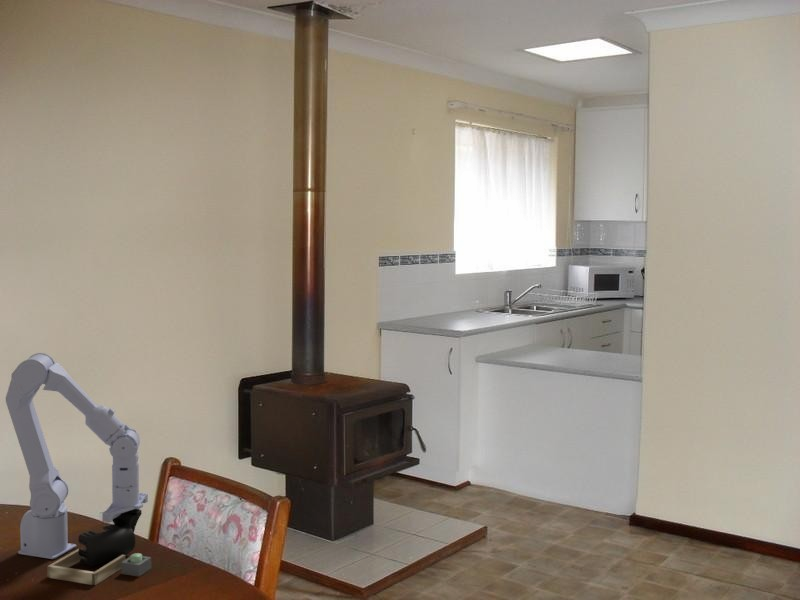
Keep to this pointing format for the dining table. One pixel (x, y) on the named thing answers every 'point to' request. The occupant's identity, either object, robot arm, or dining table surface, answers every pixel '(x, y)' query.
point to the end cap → (106, 544)
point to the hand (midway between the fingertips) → (126, 542)
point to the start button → (136, 558)
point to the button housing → (136, 566)
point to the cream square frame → (81, 576)
